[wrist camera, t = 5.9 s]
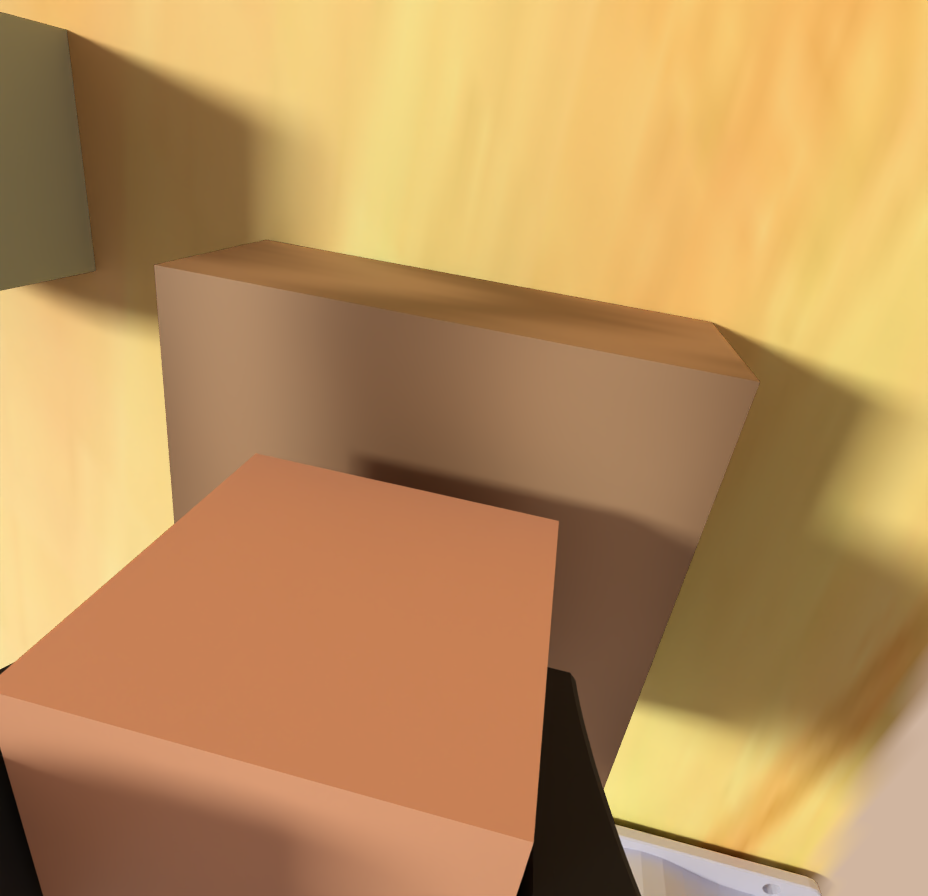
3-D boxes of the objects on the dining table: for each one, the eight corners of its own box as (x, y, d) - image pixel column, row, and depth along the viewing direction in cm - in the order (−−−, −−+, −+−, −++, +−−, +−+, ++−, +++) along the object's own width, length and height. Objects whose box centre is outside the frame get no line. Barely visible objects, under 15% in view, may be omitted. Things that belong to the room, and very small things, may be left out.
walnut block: (712, 322, 13) (760, 382, 9) (597, 667, 17) (599, 798, 14) (266, 239, 14) (154, 264, 10) (265, 585, 18) (187, 687, 15)
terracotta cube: (559, 521, 9) (534, 843, 5) (503, 738, 12) (450, 1097, 7) (255, 452, 10) (-17, 689, 5) (257, 674, 12) (64, 971, 8)
